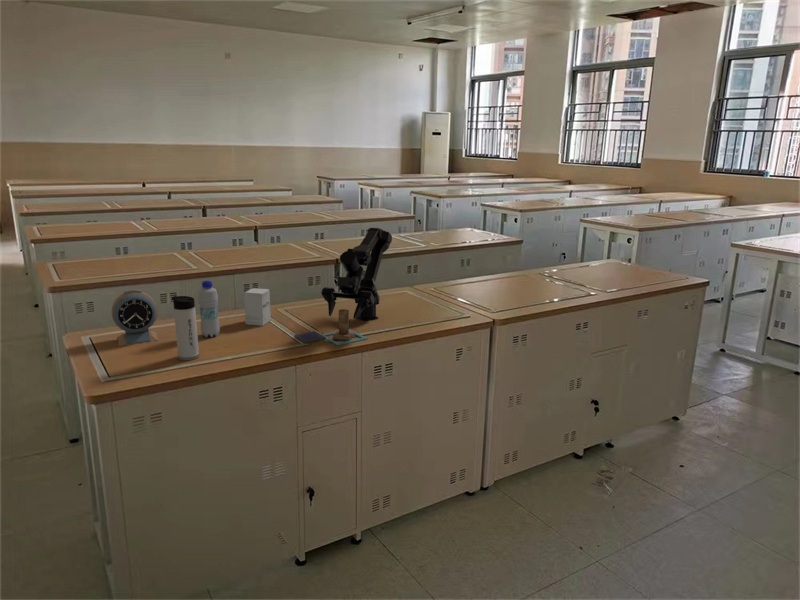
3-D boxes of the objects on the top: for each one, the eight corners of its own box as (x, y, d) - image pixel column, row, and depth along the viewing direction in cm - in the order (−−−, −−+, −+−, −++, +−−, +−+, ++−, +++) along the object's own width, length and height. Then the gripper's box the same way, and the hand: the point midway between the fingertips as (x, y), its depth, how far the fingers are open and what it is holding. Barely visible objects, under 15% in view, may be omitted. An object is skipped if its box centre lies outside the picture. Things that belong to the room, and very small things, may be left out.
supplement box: (263, 326, 213) (261, 293, 209) (245, 324, 214) (243, 292, 211) (271, 320, 220) (270, 288, 216) (253, 319, 221) (252, 287, 218)
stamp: (338, 334, 206) (338, 306, 203) (354, 335, 204) (354, 308, 201) (332, 339, 200) (332, 311, 197) (349, 341, 199) (348, 312, 196)
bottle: (224, 333, 203) (220, 279, 198) (212, 339, 197) (208, 283, 192) (208, 331, 206) (204, 277, 200) (196, 337, 199) (192, 281, 194)
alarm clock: (115, 346, 189) (109, 295, 184) (114, 337, 197) (108, 288, 193) (161, 340, 196) (156, 290, 191) (158, 332, 204) (154, 284, 199)
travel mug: (180, 353, 184) (175, 294, 178) (201, 353, 184) (196, 294, 179) (174, 361, 178) (168, 299, 172) (196, 360, 178) (191, 299, 173)
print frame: (349, 329, 210) (349, 328, 210) (367, 339, 201) (367, 338, 201) (319, 336, 203) (319, 334, 203) (337, 345, 193) (337, 344, 193)
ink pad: (315, 333, 206) (315, 330, 206) (325, 339, 200) (325, 336, 200) (295, 337, 201) (294, 334, 201) (305, 343, 195) (305, 340, 195)
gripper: (322, 265, 201) (310, 303, 194) (372, 269, 196) (361, 308, 189) (331, 281, 211) (320, 318, 203) (379, 286, 206) (369, 323, 198)
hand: (341, 316), depth 198 cm, fingers open, 9 cm apart
